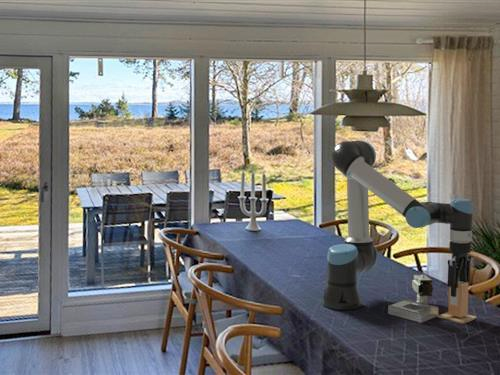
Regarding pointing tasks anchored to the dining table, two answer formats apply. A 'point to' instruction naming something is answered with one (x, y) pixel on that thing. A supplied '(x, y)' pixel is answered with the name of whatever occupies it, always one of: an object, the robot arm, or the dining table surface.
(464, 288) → the light wood tall block
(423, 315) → the grey flat block
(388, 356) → the dining table surface
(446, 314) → the pad
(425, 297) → the pneumatic valve
